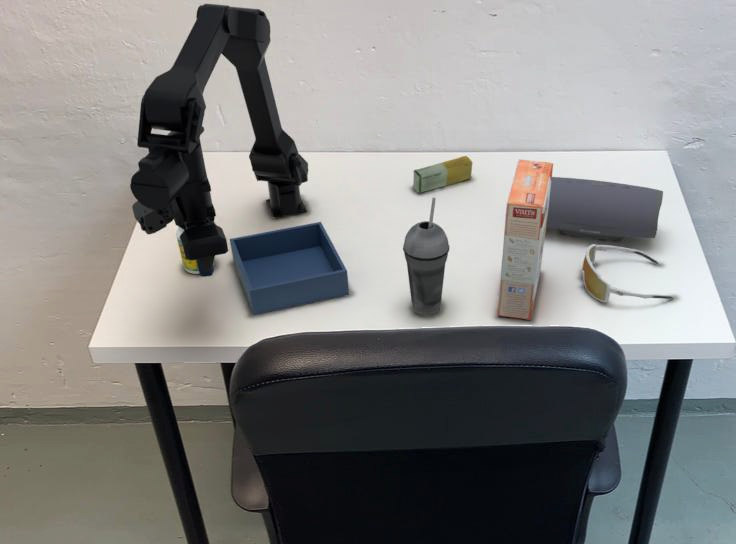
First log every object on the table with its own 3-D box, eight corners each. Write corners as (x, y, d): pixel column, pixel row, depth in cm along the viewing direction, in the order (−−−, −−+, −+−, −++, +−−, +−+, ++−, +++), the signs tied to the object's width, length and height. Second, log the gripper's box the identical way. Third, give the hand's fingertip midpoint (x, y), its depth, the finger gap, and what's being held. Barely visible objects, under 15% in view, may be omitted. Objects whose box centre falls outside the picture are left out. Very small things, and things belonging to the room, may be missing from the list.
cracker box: (533, 321, 144) (545, 206, 129) (496, 317, 144) (504, 202, 130) (542, 273, 153) (555, 160, 139) (507, 269, 154) (516, 157, 140)
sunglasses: (571, 260, 156) (578, 235, 153) (653, 267, 158) (662, 243, 155) (586, 308, 146) (594, 283, 142) (673, 315, 148) (683, 291, 145)
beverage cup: (402, 295, 149) (400, 187, 135) (446, 293, 149) (448, 185, 135) (405, 322, 144) (403, 212, 129) (450, 320, 144) (452, 210, 130)
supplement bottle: (220, 260, 156) (211, 212, 149) (206, 277, 152) (195, 228, 146) (193, 255, 157) (182, 207, 151) (178, 272, 154) (166, 223, 147)
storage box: (233, 262, 156) (229, 238, 152) (323, 244, 160) (320, 221, 156) (253, 315, 145) (249, 290, 142) (349, 294, 149) (347, 270, 146)
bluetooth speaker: (654, 227, 164) (664, 177, 157) (652, 254, 158) (662, 204, 150) (532, 212, 168) (536, 163, 161) (524, 239, 161) (529, 189, 154)
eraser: (201, 268, 141) (193, 231, 136) (215, 269, 141) (207, 231, 136) (198, 276, 140) (190, 239, 135) (212, 276, 140) (205, 239, 135)
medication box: (418, 194, 173) (418, 177, 169) (412, 187, 174) (412, 169, 171) (472, 178, 176) (473, 161, 173) (465, 171, 178) (466, 154, 175)
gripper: (121, 154, 133) (145, 244, 144) (137, 216, 120) (162, 310, 131) (196, 142, 135) (213, 231, 146) (219, 201, 123) (237, 294, 134)
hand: (205, 265), depth 139 cm, fingers closed on eraser, 2 cm apart
